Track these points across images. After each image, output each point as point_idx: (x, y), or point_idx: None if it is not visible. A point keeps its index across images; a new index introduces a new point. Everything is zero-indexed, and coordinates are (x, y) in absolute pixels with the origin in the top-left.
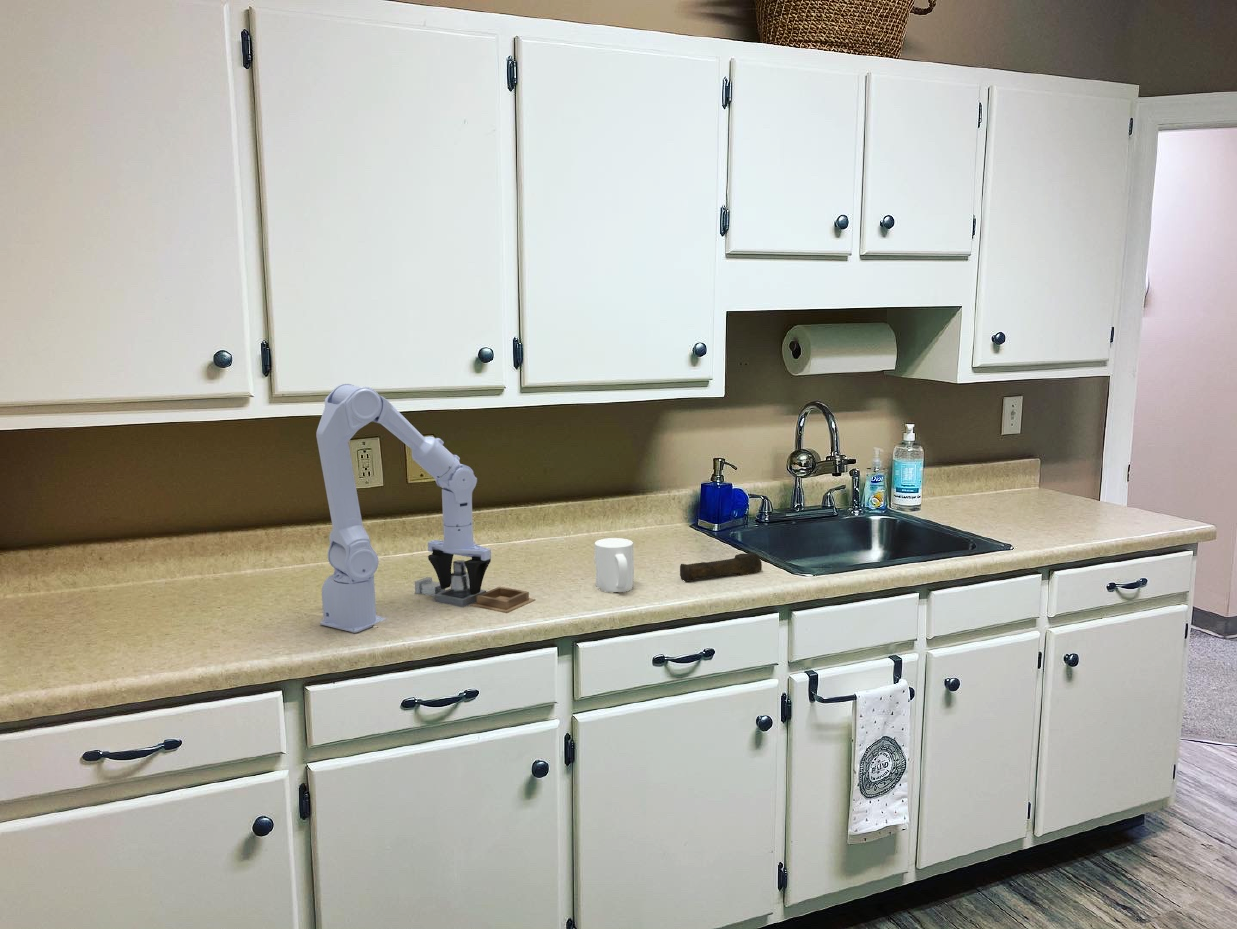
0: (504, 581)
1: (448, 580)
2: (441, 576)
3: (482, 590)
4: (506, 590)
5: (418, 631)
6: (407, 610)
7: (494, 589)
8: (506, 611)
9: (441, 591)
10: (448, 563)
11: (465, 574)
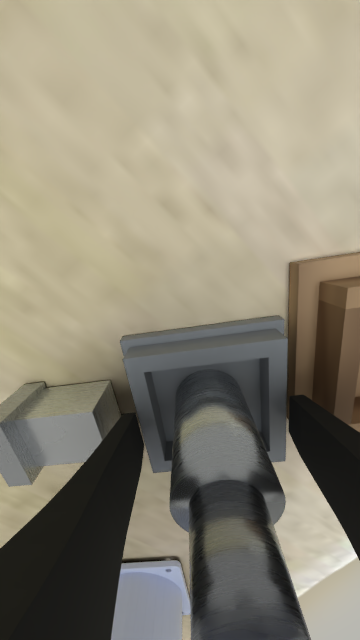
0: (131, 27)
1: (129, 447)
2: (127, 514)
3: (270, 347)
4: None
5: (286, 556)
6: (147, 504)
7: (351, 340)
8: None
9: (108, 410)
10: (84, 563)
11: (263, 496)
